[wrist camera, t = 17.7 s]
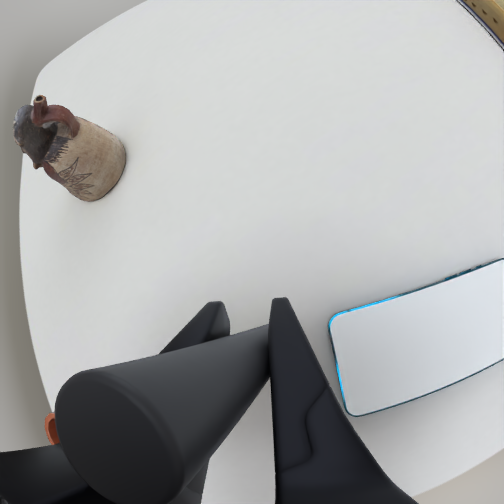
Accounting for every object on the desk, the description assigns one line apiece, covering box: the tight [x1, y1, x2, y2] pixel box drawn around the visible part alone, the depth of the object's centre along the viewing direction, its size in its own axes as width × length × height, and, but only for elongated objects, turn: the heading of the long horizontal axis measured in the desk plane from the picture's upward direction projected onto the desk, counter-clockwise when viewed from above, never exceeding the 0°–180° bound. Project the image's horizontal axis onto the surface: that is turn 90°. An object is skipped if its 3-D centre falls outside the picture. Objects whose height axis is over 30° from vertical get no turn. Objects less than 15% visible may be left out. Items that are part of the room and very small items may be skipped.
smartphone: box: [328, 258, 504, 417], centre depth 18 cm, size 8×1×16 cm
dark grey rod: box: [54, 324, 270, 504], centre depth 9 cm, size 2×2×14 cm
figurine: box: [13, 95, 126, 201], centre depth 22 cm, size 7×7×12 cm
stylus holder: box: [45, 412, 60, 445], centre depth 20 cm, size 4×4×5 cm
